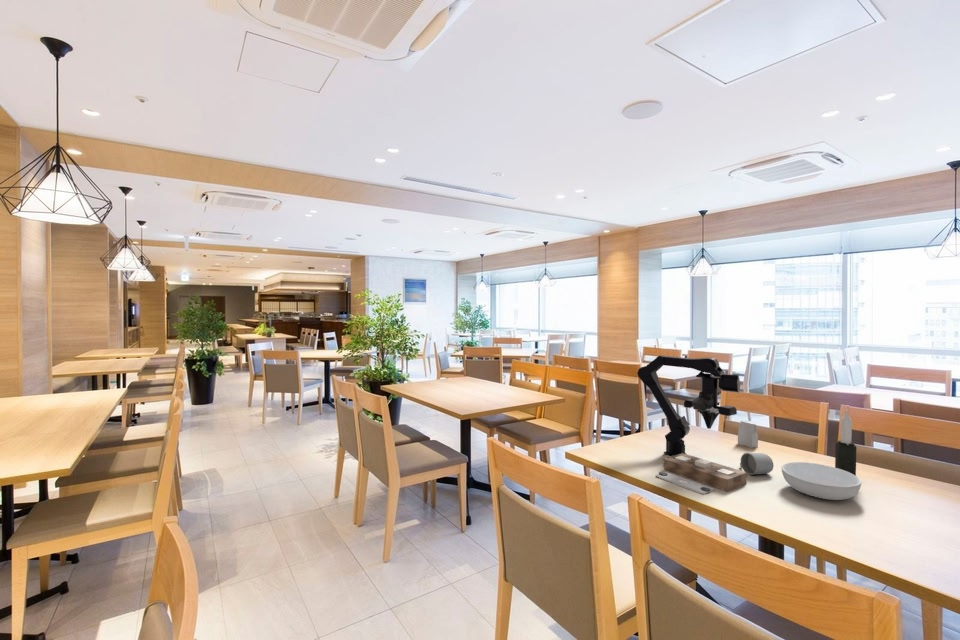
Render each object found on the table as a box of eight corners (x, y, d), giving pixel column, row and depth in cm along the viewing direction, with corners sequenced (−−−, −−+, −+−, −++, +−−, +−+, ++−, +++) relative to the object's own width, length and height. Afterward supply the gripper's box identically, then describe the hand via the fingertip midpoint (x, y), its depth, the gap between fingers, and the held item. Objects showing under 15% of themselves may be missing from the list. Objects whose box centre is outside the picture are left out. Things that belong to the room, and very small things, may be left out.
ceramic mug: (775, 476, 161) (775, 455, 161) (756, 477, 159) (756, 456, 159) (751, 466, 172) (751, 446, 171) (733, 467, 170) (733, 447, 170)
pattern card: (654, 476, 161) (654, 474, 161) (664, 472, 164) (664, 470, 164) (704, 495, 145) (704, 492, 145) (715, 490, 148) (715, 488, 148)
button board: (663, 469, 168) (663, 458, 168) (682, 463, 174) (682, 453, 174) (727, 491, 148) (727, 479, 148) (746, 483, 154) (746, 472, 154)
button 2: (716, 479, 155) (716, 470, 155) (722, 476, 157) (722, 468, 157) (728, 483, 151) (728, 474, 151) (734, 480, 154) (734, 472, 154)
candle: (851, 478, 159) (853, 409, 158) (856, 483, 154) (858, 412, 153) (833, 476, 161) (835, 407, 160) (838, 481, 156) (840, 410, 155)
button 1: (674, 465, 168) (674, 457, 168) (681, 463, 170) (681, 455, 170) (684, 468, 165) (684, 460, 165) (690, 466, 167) (691, 458, 167)
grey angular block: (752, 448, 193) (752, 425, 193) (737, 443, 199) (738, 421, 199) (757, 446, 194) (758, 424, 194) (743, 442, 201) (743, 420, 200)
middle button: (694, 468, 162) (694, 460, 161) (701, 466, 164) (701, 458, 164) (705, 472, 158) (705, 463, 158) (711, 470, 160) (711, 461, 160)
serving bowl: (766, 486, 152) (767, 466, 151) (805, 477, 160) (806, 458, 160) (835, 513, 133) (836, 490, 132) (875, 501, 141) (876, 479, 141)
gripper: (675, 387, 180) (675, 426, 180) (721, 395, 164) (721, 437, 164) (691, 385, 185) (691, 422, 186) (737, 392, 170) (737, 433, 170)
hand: (708, 428), depth 176 cm, fingers closed
